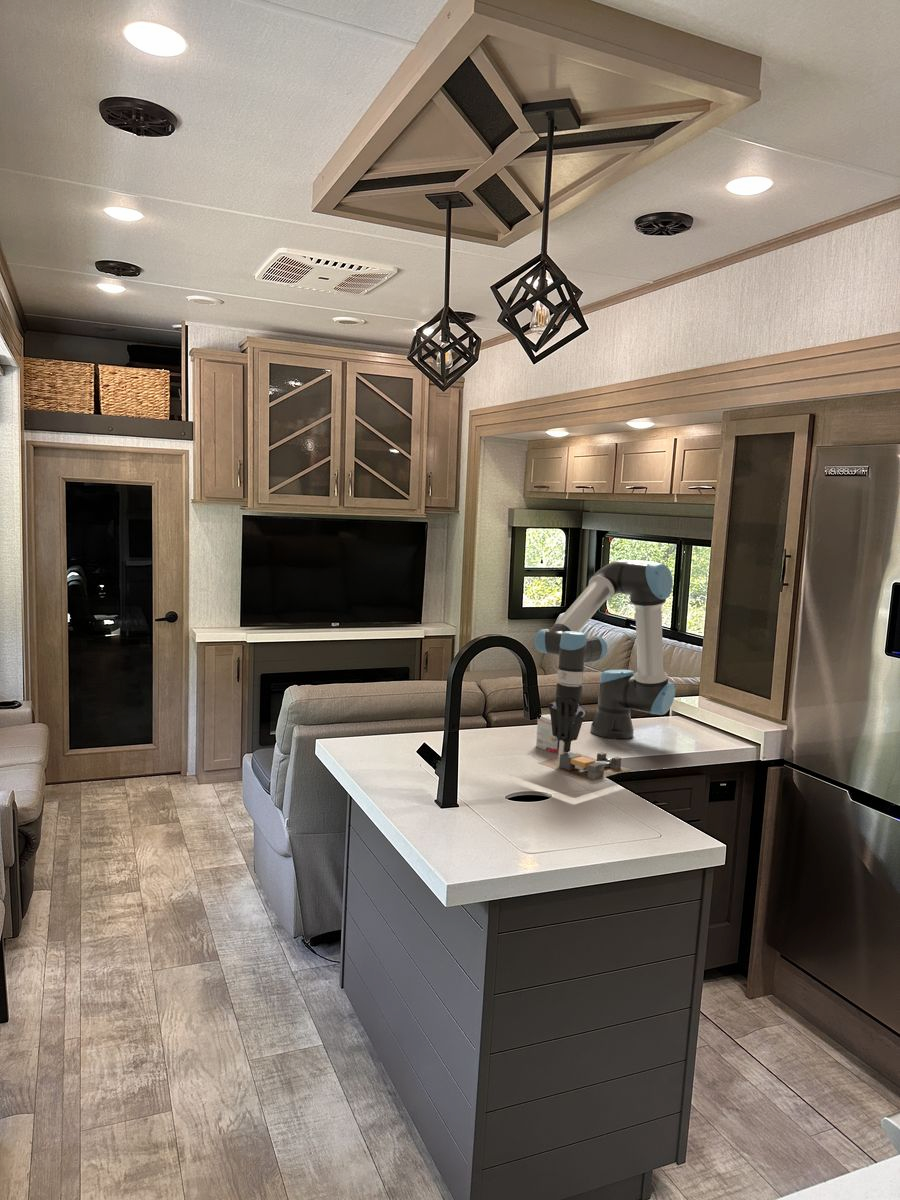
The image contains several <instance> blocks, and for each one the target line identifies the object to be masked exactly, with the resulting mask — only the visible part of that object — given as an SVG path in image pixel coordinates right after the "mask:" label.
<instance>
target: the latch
mask: <svg viewBox="0 0 900 1200" xmlns="http://www.w3.org/2000/svg"><path fill="white" fill-rule="evenodd" d="M575 753H576V752H575ZM575 753H574V752H572V751H570V752H568V753H565V754H561V755H560V762H559V767H560V768H563V769H566V770H569V771H571V770H575V769H576V768H575V765H577V766H580V767H583V768H586V767H588V766H589V765H590V764H593V763H595V760H592V759H589V758H585V757H582V756H581V755H578V754H575Z"/></svg>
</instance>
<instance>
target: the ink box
mask: <svg viewBox="0 0 900 1200" xmlns="http://www.w3.org/2000/svg"><path fill="white" fill-rule="evenodd" d="M540 715H541V717H540V719H538V718H537V725H536V726H537V727H536V742H535V743H536V744H535V747H537V748H540V749H541V750H544V751H548V752H550V753H552V754H556V753H558V754H559V750H558V749H557V745H558V739H557V737H556V736H553V734H552V724H551V714H549V713H548V714H540Z"/></svg>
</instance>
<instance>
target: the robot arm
mask: <svg viewBox="0 0 900 1200" xmlns="http://www.w3.org/2000/svg"><path fill="white" fill-rule="evenodd" d="M673 583H674V581H673V575H672V572H671V569H670V568H669V567H668V566H667V565H666V564H665V563H660V562H656V561H647V560H646V561H645V560H635V559H624V558H623V559H618V560H615V561H614V560H613V561H612V562H610V563H608V564H606V565H604V566H602V568H600V569H598V570H597V571H596V572H595V573H594V574H593V575H592V576H591V578H590V579H589V581H588V585H587V586H586V587H585V589H584V590H583V591H582V593H580V595H579V596H578V597H577V598H576V599H575V600H574V602H573V603H572V604H571V605H570V606H569V608H567V609H566V611H565V612H564V613H563V614H562V615H561V616H560V618H559V619H558V620H557V621H556V622H555V623H554V624H553V626H552V627H551V628H550V629H548V628H545V629H544V628H542V629H539V630H538V631H537V633H536V635H535V638H534V645H535V649H536V651H538V652H539V653H543V654H547V655H551V656H557V657H558V667H557V674H556V675H557V678H556V681H557V683H556V686H555V687H556V689H555V695H556V697H555V699H554V701H553V702H549V703H548V704H547V706H548V709H549V713H550V715H551V724H552V734H553V736H556V737H557V739H558V745H557V749H558V750H559V752H558V756H557V758H558V762H560V755H561V754H565V753H569V752H571V745H572V742H573V741H576V740H578V738H579V735H580V730H581V729H582V728H581V727H582V725H583V721H584V718H585V717H586V715H588V712H587V710H584V709H583V708H582V707H581V706H582V705H581V698H582V693H583V692H582V690H583V686H582V684H583V683H584V682H583V681H584V670H585V663H590V662H597V661H600V660H602V659H603V658H605V657H606V655H607V653H608V645H607V642H606V640H605V639H604V638H603V637H601V636H598V635H591V636H589V635H588V636H587V634H586V633H585V632H580V631H581V630H582V629H583V628H584V626H586V625H587V623H588V622H589V621H590V620H591V619H592V617H593V616H594V615H595V614H596V613H597V611H599V609H600V608H601V607H602V605H603V604H604V603H605V602H606V601H608V600H610V599H612V598H613V597H614V596H615V595H617V594H624V595H629V600H630V604H631V605H633V606H634V611H635V630H636V631H635V634H636V635H635V639H636V657H637V658H636V660H637V661H636V663H637V671H636V672H635V671H634V670H632V669H608V670H604V671H602V672H601V675H600V677H599V683H598V684H599V688H598V698H597V699H598V700H597V710H596V713H595V715H594V717H593V720H592V722H591V724H590V732H591V733H592V734H594V735H595V736H599V737H604V738H608V739H614V738H628V739H630V738H629V737H632V736H633V737H634V732H635V731H634V729H635V728H634V725H633V720H632V718H631V710H634V711H639V712H643V713H647V714H648V713H649V714H651V715H658V716H659V715H660V716H662V715H665V714H666V713H668V711H670V709H671V707H672V705H673V703H674V700H675V696H676V686H675V684H674V683H672V682H671V681H669V674H668V673H667V672H666V671H664V653H663V652H664V651H663V649H664V648H663V643H664V642H663V617H662V616H663V615H662V607H663V605H665V603H666V601H667V599H668V598H669V597H670V596H671V593H672V591H673V589H672V588H673ZM633 737H632V738H633Z"/></svg>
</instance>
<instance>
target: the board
mask: <svg viewBox="0 0 900 1200" xmlns="http://www.w3.org/2000/svg"><path fill="white" fill-rule="evenodd" d="M575 754H578V755H581V756H582V757H585V758H589V759H592V760H595V762H596V761H603V759H604V758H607V754H608V753H606V752H603V751H602V752H597V754H596V758H594V757H591V756H588V755H585V754H581V753H578V752H575ZM611 760H612V765H611V766H609V767H604V763H600V762H597V763H593V764H590V765H589V766H588V770H585V771H582V770H579V769H575V770H571V771H569V770H566V769H563V768H560V767H559V762H558V757H555V758H550V759H545V760H542V761H539V762H537V764H539V765H542V766H545V767H549V768H551V769H554V770H558V771H561V772H564V773H566V774H570V775H573V776H574V777H575V776H576V777H578V778H581V779H584V780H588V781H591V782H592V781H596V780H600V779H604V778H606V777H610V776H614V775H618V774H621V773H624V772H627V771H631V769H630V768H627V767H624V766H622V757H619V756H615V757H612V758H611Z"/></svg>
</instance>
